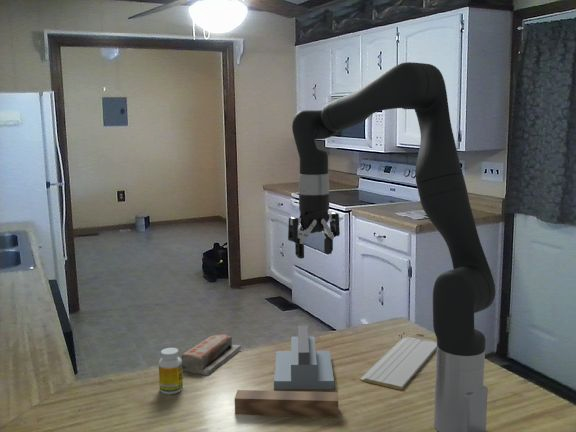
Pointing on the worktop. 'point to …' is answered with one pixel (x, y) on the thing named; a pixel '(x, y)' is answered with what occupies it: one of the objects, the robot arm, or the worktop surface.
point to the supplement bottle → (170, 371)
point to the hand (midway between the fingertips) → (314, 255)
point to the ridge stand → (303, 365)
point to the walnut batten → (286, 403)
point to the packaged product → (209, 354)
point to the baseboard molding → (400, 362)
